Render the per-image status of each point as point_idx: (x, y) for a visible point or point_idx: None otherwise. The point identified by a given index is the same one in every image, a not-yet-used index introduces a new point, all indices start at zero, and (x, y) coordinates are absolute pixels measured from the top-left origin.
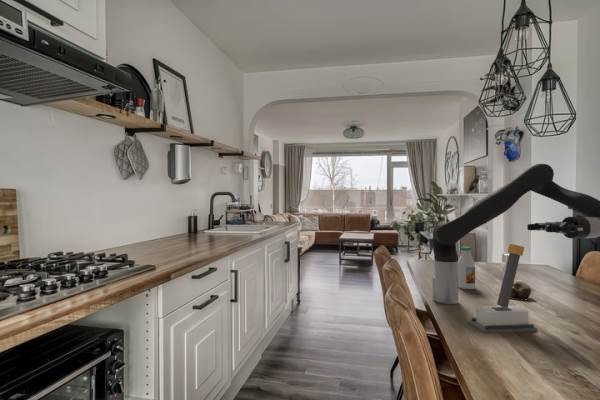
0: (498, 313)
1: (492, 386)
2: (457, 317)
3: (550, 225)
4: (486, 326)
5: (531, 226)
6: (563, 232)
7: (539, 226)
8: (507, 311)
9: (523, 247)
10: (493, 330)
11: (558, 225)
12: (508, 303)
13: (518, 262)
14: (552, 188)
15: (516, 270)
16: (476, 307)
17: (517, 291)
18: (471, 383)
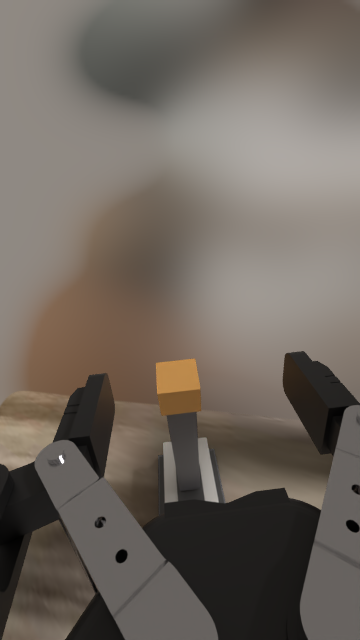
0: (164, 466)
1: (13, 406)
2: (250, 445)
3: (96, 388)
4: (160, 457)
5: (292, 378)
6: (61, 523)
7: (336, 437)
8: (169, 488)
9: (157, 391)
10: (158, 474)
11: (165, 514)
12: (179, 486)
13: (168, 424)
14: None
15: (171, 440)
16: (204, 438)
17: None
18: (28, 393)
